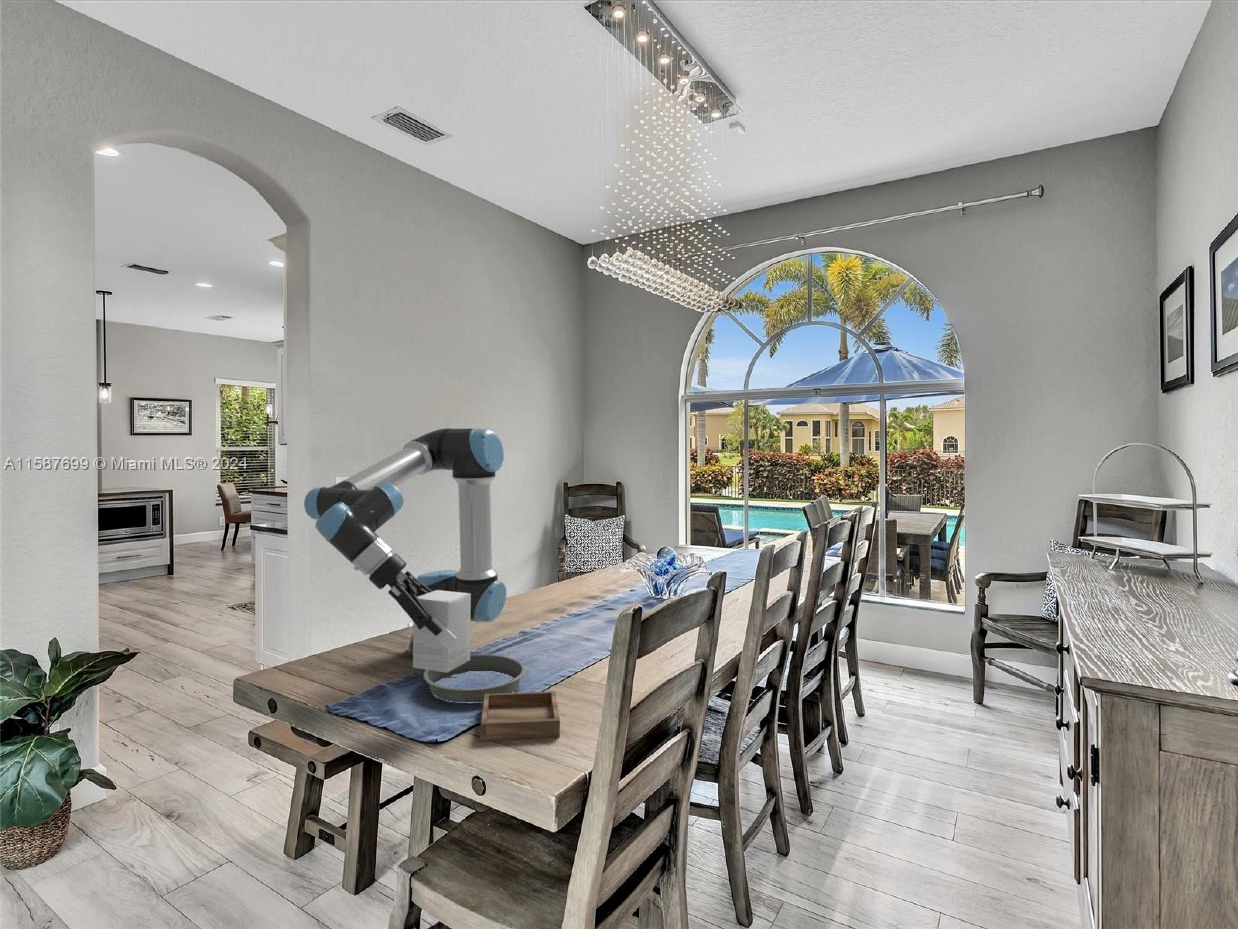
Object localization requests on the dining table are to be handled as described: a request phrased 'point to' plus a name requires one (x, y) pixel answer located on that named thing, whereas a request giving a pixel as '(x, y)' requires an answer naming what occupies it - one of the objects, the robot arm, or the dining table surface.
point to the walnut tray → (520, 716)
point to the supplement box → (456, 618)
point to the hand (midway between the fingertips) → (454, 634)
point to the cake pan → (477, 664)
